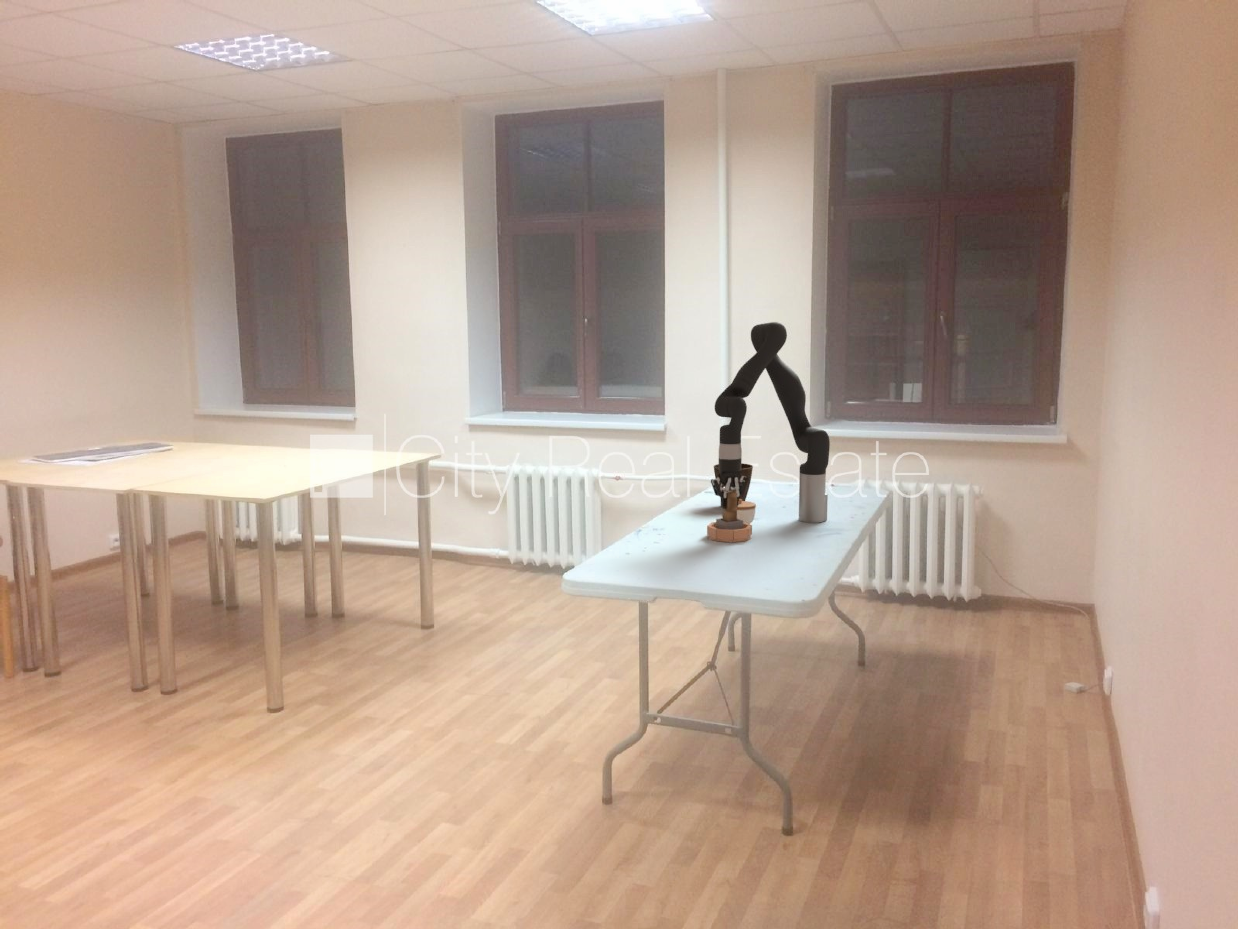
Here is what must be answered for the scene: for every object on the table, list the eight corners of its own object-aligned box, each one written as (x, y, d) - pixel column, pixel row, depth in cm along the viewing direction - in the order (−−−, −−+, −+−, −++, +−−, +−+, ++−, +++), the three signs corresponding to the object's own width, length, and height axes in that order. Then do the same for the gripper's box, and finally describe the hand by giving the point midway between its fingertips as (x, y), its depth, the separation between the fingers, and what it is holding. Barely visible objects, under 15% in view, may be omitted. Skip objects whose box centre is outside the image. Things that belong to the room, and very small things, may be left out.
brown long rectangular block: (731, 526, 325) (731, 490, 324) (736, 528, 322) (737, 492, 320) (722, 527, 324) (722, 491, 322) (727, 529, 321) (727, 493, 319)
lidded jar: (754, 529, 335) (754, 502, 334) (723, 528, 338) (723, 501, 336) (756, 522, 346) (756, 496, 344) (726, 521, 348) (726, 496, 346)
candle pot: (736, 531, 333) (736, 513, 332) (758, 539, 320) (759, 521, 319) (700, 535, 327) (700, 517, 326) (722, 544, 314) (722, 526, 314)
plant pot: (733, 512, 363) (733, 470, 361) (705, 506, 375) (705, 465, 372) (760, 507, 373) (761, 466, 370) (732, 501, 384) (732, 461, 382)
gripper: (742, 453, 326) (741, 504, 328) (705, 456, 320) (705, 507, 323) (754, 456, 319) (753, 508, 322) (717, 459, 313) (717, 512, 316)
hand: (729, 507), depth 322 cm, fingers closed on brown long rectangular block, 3 cm apart
